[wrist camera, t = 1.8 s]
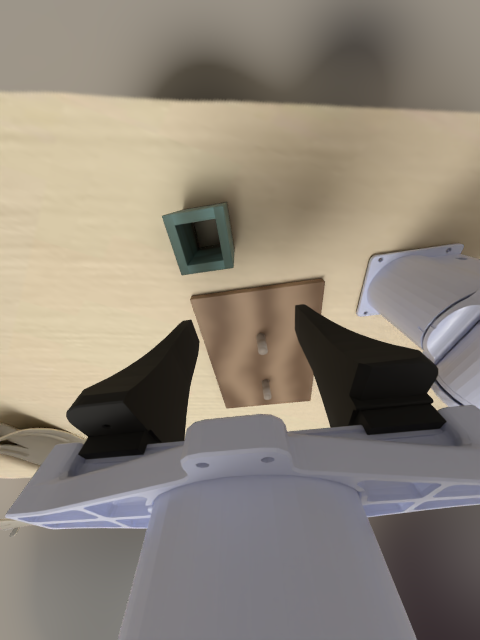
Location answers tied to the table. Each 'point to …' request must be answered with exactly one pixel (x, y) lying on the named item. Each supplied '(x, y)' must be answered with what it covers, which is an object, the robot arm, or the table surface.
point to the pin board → (258, 342)
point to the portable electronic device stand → (31, 452)
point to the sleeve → (187, 243)
